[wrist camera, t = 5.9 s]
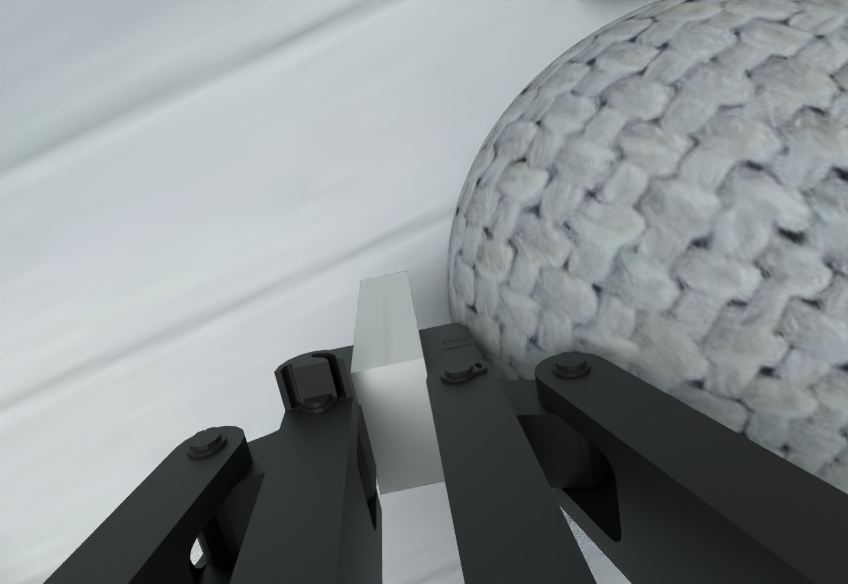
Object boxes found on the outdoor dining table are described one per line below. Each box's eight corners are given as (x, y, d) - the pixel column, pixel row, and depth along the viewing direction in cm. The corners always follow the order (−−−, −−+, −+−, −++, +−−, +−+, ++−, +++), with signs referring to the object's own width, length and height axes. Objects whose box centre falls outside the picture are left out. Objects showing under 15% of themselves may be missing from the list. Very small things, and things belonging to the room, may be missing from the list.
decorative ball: (534, -45, 20) (925, -466, 6) (853, 140, 23) (1643, 162, 9) (366, 320, 23) (350, 624, 9) (662, 442, 26) (1006, 819, 12)
